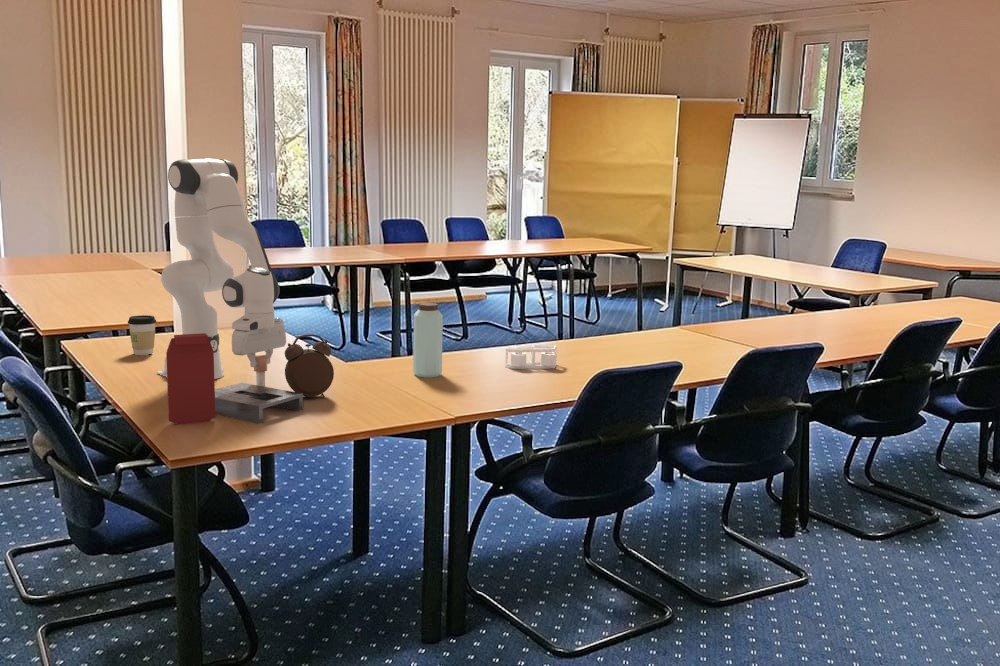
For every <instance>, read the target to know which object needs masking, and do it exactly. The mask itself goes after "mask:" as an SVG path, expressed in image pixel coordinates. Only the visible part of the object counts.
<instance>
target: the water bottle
mask: <svg viewBox="0 0 1000 666" xmlns="http://www.w3.org/2000/svg"><path fill="white" fill-rule="evenodd" d="M438 309H439V304H438V303H435V302H434V303H433V302H422V303H421V302H419V303H418V308H417V310H416V311H415V313H413V358H412V360H413V361H412V372H413V374H414V375H415V376H416V377H420V378H426V379H428V378H430V379H431V378H437V377H439V376H441V375H442V373H443V331H444V330H443V324H444V323H443V321H444V320H443V319H444V316H443V314H442V313H441V312H440V311H439V310H438Z"/></svg>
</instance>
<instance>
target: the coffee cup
mask: <svg viewBox="0 0 1000 666" xmlns="http://www.w3.org/2000/svg"><path fill="white" fill-rule="evenodd" d="M156 323H157V319H156V318H155V316H154V315H147V314H145V315H144V314H141V315H132V316H130V317H129V318H128V320H127V324H128V326H129V335H130V341H131V342H130V343H131V347H132V351H133V355H134V354H135V355H134V356H137V355H146V356H149V355H148V354H152V353H153V354H154V347H155V340H156V339H155V337H156ZM153 354H152V355H153Z"/></svg>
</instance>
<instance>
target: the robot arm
mask: <svg viewBox="0 0 1000 666" xmlns="http://www.w3.org/2000/svg"><path fill="white" fill-rule="evenodd" d="M167 177H168V183H169V185H170V187H171V189H173V191H175V194H174V196H175V197H174V222H175V232H176V239H177V242H178V243H179V244H180V246H183V247H184V248H186V249H187V250H188V252H189V253H190V254H189V255H190V257H191V259H187V260H186V259H185V260H179V261H174V262H172V263H169V264H167V265H166V266H164V268H163V269H162V271H161V276H160V277H161V278H160V279H161V281H160V282H161V283H162V286H163V288H164V289H165V291H166V292H168V293H169V294H170V295H171V296H172V297H173V298H174V299H175V301H176V303H177V305H178V307H179V310H180V317H181V325H182V326H181V331H182V333H181V335H182V334H201V333H206V334H207V335H208V338H209V340H210V343H211V346H212V348H213V351H214V380H216V379H220V378H223V377H224V376H225V374H224V371H225V370H224V368H223V366H222V358H221V357H222V356H221V351H220V349H219V346H220V335H219V333H218V313H217V310H216V308H215V307H213V306H211V305H210V304H208V303H207V300H206V298H205V293H209V292H217V291H220V290H221V291H222V292H221V295H222V299H223V301H224V303H226V305H227V306H229V307H230V308H236V309H237V308H244V314H243V315H242V316H241V317H239V318H238V319H236V320H235V321H233V322H232V323H231V328H232V329H233V332H232V334H231V351H232V353H233V355H235V356H241V357H243V356H247V358H248V360H249V363H250V367H251V368H254V367H257V366H258V361H256V360H255V358H254V356H256V355H257V353H260V352H264V353H265V354H264V355H266V356H267V365H269V364H271V358H272V356H273V354H274V350H275V349H278V348H279V349H280V348H283V347H285V346H286V344H287V333H286V329H285V324H284V323H285V322H284V320H283V319H281V317H276V318H275V308H274V304H275V302H277V299H278V298H279V295H280V285H279V282H278V280H277V278H276V276H275V275H274V272H273V270H272V267H271V264H270V261H269V259H268V255H267V253H266V250H265V246H264V244H263V240H262V238H261V236H260V233H259V231H258V229H257V228H256V227H255V225H253V224H252V223H251V222H250V220H249V219H248V216H247V215H246V212H245V207H244V204H243V200H242V199H243V198H242V195H241V191H240V190H239V186H238V182H239V172H238V168H237V167H236V165H235V163H233V162H232V161H230V160H227V159H222V158H220V159H217V158H208V157H207V158H205V157H203V158H193V159H185V158H183V159H178V160H175V161H173V162H172V163H171V165H170V166H169V167H168V173H167ZM214 233H215V234H216V235H217V236H219V237H220V238H223V239H225V240H228V241H231V242H234V243H235V244H237V245H239V246H241V247H242V248H243V249H244V251H245V252H246V255H247V258H248V261H249V264H250V266H251V267H247V268H246V269H245V270H244V272H243V273H241V274H239V275H236V276H234V275H235V274H234V269H233V267H232V264H231V263H230V262H229V261H228V260H226V259H225V258H224V257H223V255H222V254H221V253H220V251H219V250H218V247H217V245H216V242H215V238H214ZM163 362H164V363H163V365H164V366H163V367H164V368H163V369H159V370H158V371H157V372H156V375H157V374H160V375H163V376H166V377H167V358H166V357H165V358H164V361H163ZM160 375H159V376H160ZM163 376H162V377H163ZM166 377H165V378H166Z"/></svg>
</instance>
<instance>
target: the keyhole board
mask: <svg viewBox="0 0 1000 666" xmlns="http://www.w3.org/2000/svg"><path fill="white" fill-rule="evenodd" d="M303 399H304V396H303V393H297V392H294V391H293V390H292V391H291V390H285V389H281V388H274V387H268V386H265V387H264V386H258V385H257V384H252V383H246V382H239V383H235V384H232V385H227V386H223V387H219V388H215V415H219V416H223V417H226V418H232V419H236V420H240V421H246V422H250V423H254V424H258V425H259V424H264V409H267V408H269V407H273V406H274V407H279V408H284V409H287V410H292V411H297V412H301V411H303V410H304V401H303Z"/></svg>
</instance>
